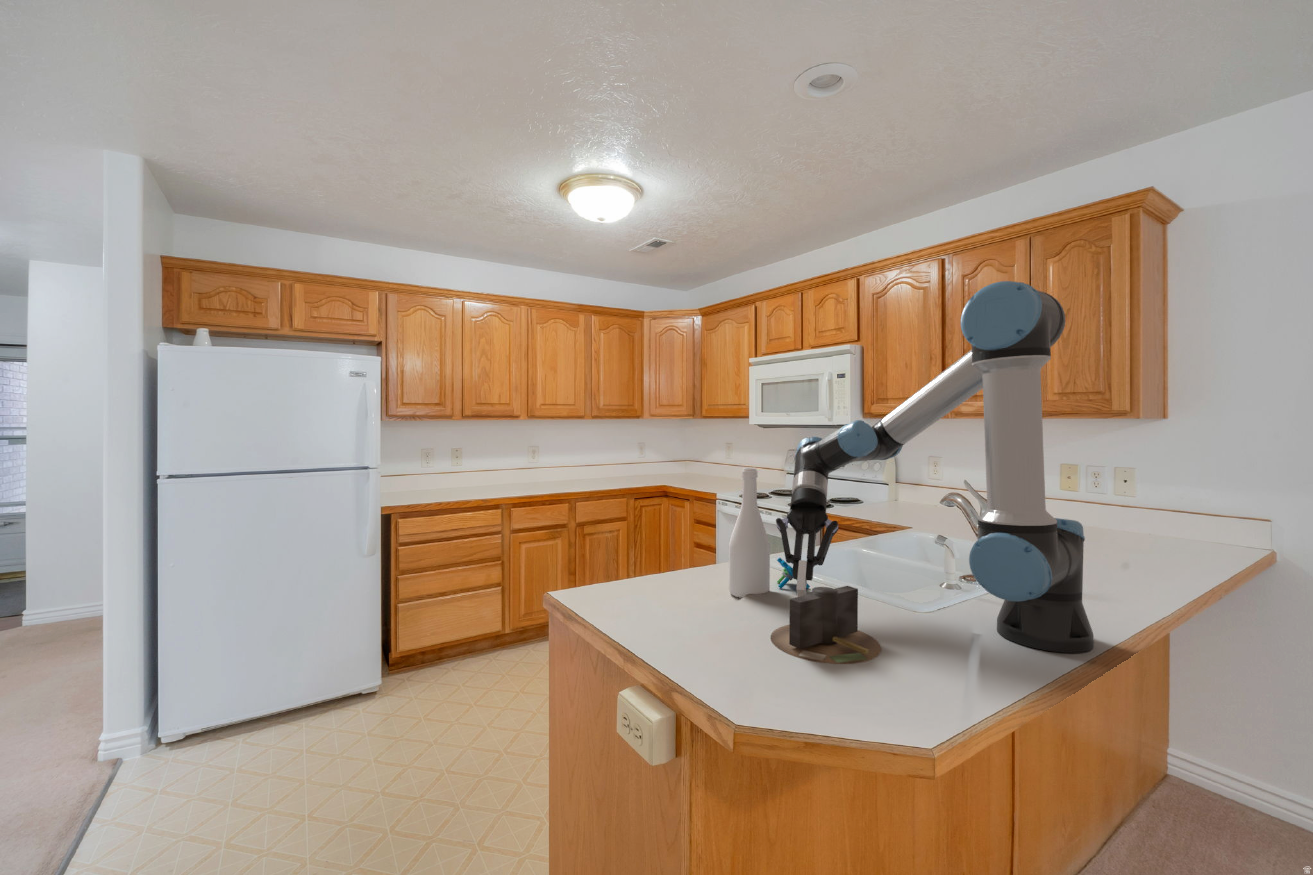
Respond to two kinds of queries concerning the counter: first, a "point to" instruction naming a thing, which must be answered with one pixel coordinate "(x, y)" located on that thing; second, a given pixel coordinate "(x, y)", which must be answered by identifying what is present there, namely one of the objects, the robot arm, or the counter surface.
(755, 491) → the wine bottle
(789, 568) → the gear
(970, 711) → the counter surface
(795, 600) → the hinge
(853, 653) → the dial
